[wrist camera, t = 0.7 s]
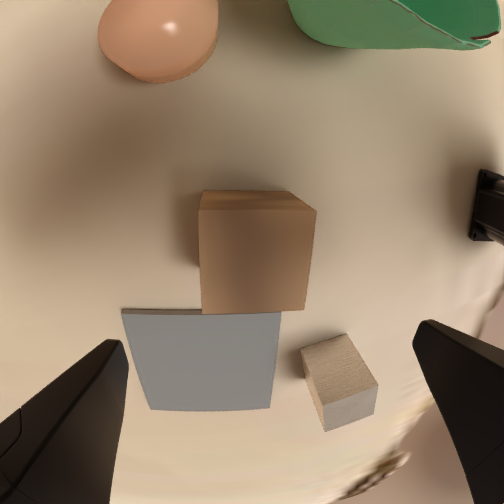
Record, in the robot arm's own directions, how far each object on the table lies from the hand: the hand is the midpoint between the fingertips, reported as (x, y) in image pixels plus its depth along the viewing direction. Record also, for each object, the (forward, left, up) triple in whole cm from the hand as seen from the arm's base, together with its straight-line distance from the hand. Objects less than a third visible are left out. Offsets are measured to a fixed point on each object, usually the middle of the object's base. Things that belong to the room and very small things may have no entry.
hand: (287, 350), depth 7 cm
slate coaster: (+3, +11, -11) cm, 16 cm away
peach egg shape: (+5, -12, -11) cm, 17 cm away
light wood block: (-7, +11, -11) cm, 17 cm away
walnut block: (0, 0, -11) cm, 11 cm away
